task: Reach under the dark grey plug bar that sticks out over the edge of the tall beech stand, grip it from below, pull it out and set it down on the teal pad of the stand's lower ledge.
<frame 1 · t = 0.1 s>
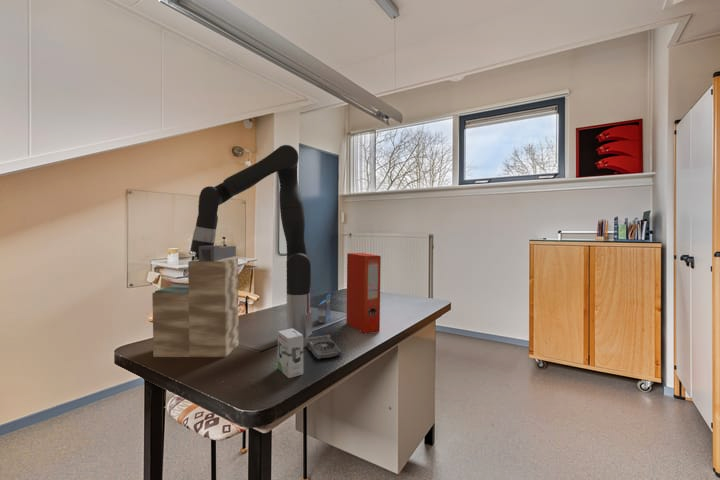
hand: (195, 282, 122), 23 cm above the table, tool pointing down, fingers open, 8 cm apart
label tape cartridge: (324, 320, 155), on the table
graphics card: (320, 354, 115), on the table
stand: (198, 350, 116), on the table
plug bar: (220, 258, 120), point 32 cm above the table, touching stand
file binder: (362, 327, 144), on the table
ink box: (290, 372, 99), on the table
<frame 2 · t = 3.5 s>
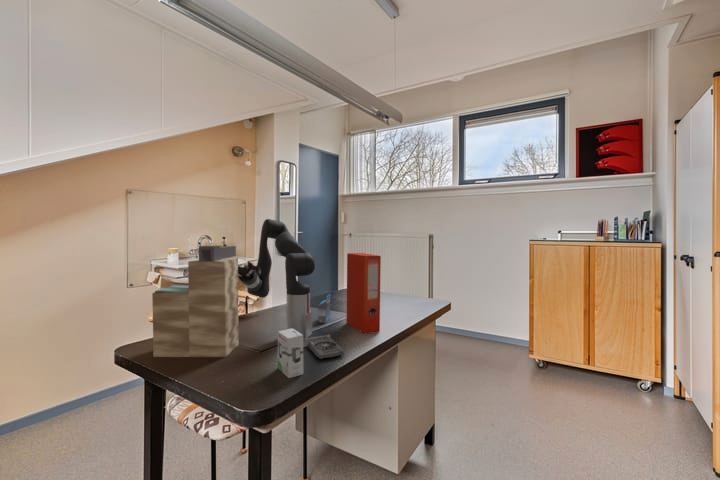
hand: (238, 263, 138), 28 cm above the table, tool pointing upward, fingers open, 8 cm apart
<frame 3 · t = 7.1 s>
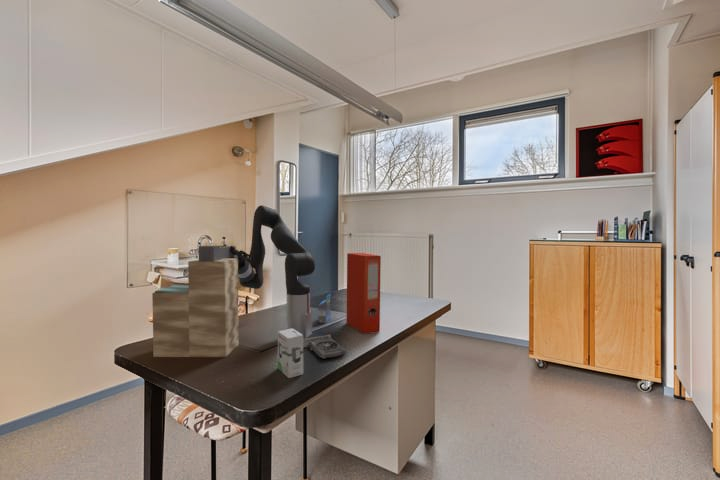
hand: (226, 248, 125), 35 cm above the table, tool pointing upward, fingers closed on plug bar, 3 cm apart
plug bar: (220, 258, 120), point 32 cm above the table, touching gripper, stand
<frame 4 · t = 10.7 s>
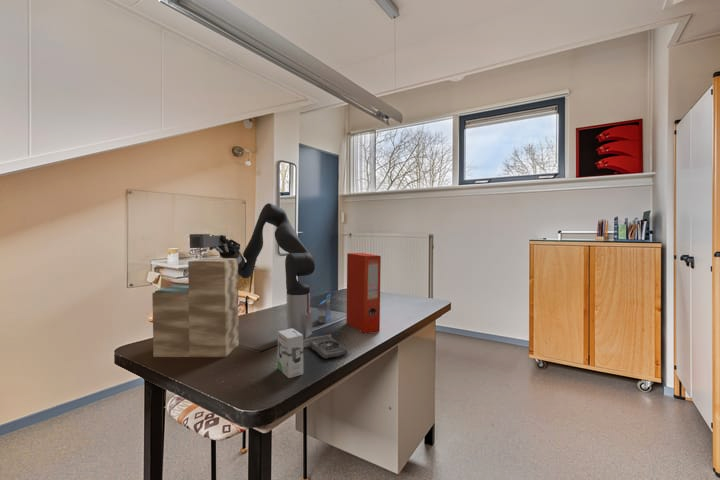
hand: (216, 237, 135), 39 cm above the table, tool pointing upward, fingers closed on plug bar, 3 cm apart
plug bar: (210, 246, 130), point 36 cm above the table, touching gripper
when the fingers open (26 cm above the table, at t = 14.7 s): plug bar stays where it is, resting on stand.
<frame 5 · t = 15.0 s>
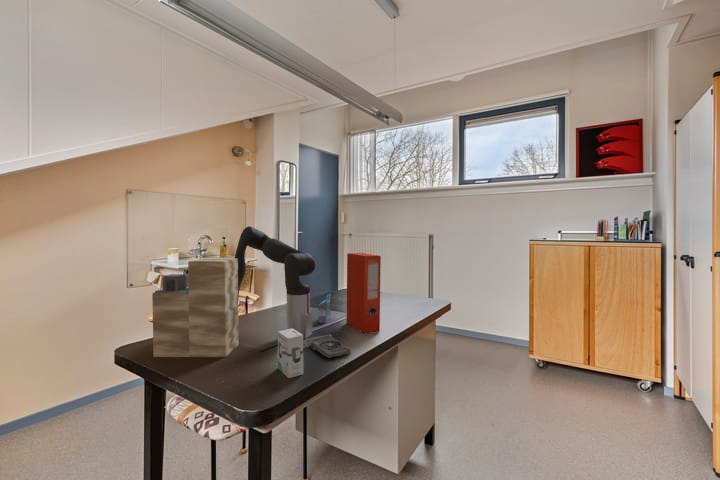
hand: (195, 272, 126), 26 cm above the table, tool pointing upward, fingers open, 5 cm apart
plug bar: (187, 285, 120), point 22 cm above the table, touching stand
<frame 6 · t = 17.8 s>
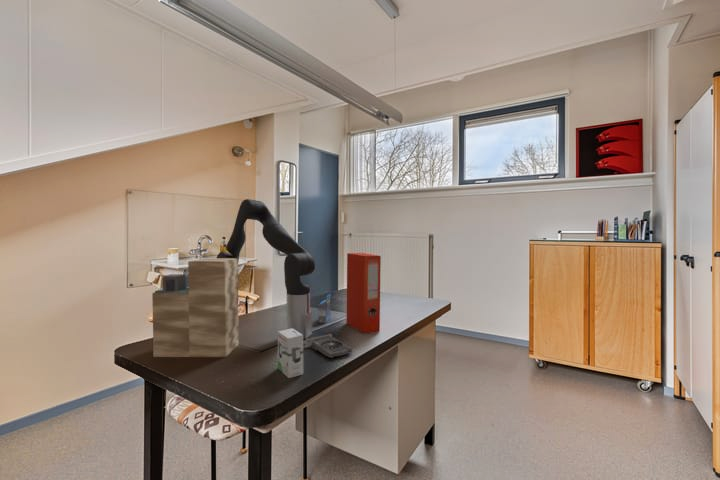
hand: (217, 280, 134), 22 cm above the table, tool horizontal, fingers open, 8 cm apart
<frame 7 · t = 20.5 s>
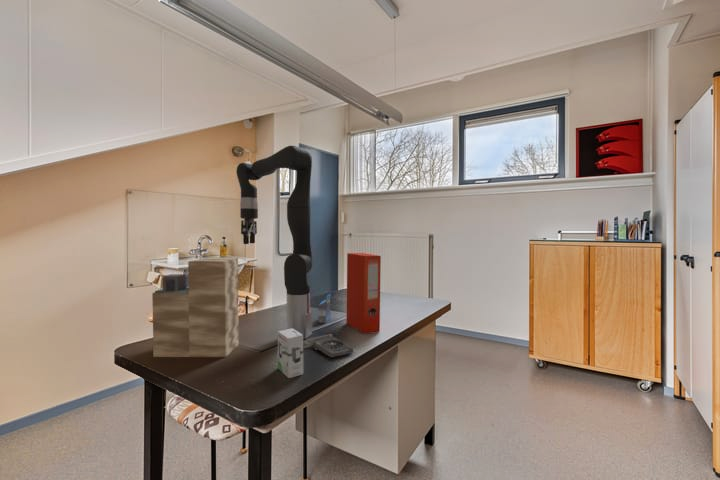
hand: (249, 243, 150), 36 cm above the table, tool pointing down, fingers open, 8 cm apart
at the end: plug bar inside the target area on the stand (0.3 cm from its centre), point 22.0 cm above the stand's base; plug bar tilted 0°; the gripper is holding nothing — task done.
